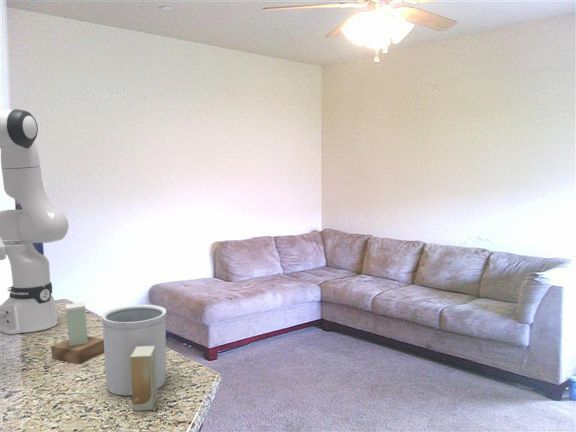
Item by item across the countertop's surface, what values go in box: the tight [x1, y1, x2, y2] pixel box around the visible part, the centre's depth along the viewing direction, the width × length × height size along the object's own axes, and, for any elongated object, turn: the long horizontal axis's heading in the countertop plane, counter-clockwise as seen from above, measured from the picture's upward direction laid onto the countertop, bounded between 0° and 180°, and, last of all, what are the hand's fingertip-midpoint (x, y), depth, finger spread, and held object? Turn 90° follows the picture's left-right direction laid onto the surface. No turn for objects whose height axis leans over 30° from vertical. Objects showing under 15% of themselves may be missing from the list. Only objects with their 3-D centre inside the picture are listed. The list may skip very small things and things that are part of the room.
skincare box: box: [130, 346, 158, 412], centre depth 110 cm, size 6×4×12 cm
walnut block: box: [50, 335, 104, 365], centre depth 140 cm, size 10×10×4 cm
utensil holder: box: [101, 304, 168, 396], centre depth 120 cm, size 15×15×18 cm
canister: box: [65, 301, 88, 346], centre depth 140 cm, size 5×5×11 cm
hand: (23, 245), depth 131 cm, fingers open, 8 cm apart
